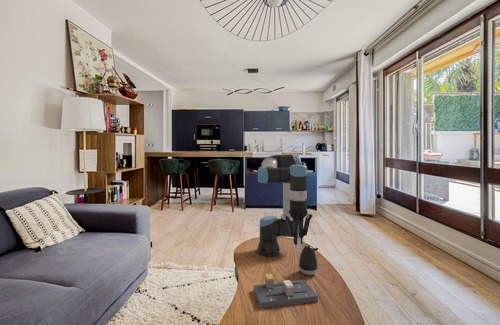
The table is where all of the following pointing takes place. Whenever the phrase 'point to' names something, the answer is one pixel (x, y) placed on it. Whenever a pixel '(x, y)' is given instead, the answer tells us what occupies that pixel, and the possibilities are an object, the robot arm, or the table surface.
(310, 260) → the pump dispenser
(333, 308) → the table surface
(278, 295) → the console
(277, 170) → the robot arm
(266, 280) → the amber fader
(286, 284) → the block
